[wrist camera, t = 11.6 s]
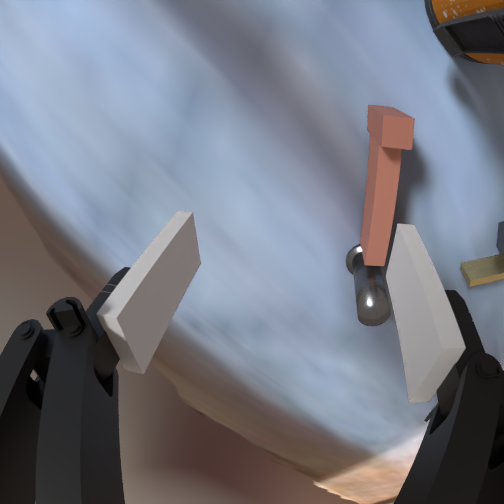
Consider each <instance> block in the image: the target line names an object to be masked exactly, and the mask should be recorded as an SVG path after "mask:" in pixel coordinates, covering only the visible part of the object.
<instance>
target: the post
mask: <svg viewBox="0 0 504 504" xmlns="http://www.w3.org/2000/svg"><path fill="white" fill-rule="evenodd" d="M346 265H347V268H348V270H349V272H350V273H351V274H353V275H354V284H355V293H356V302H357V313H358V319H359V321H360V322H361V323H362V324H364V325H366V326H377V325H380V324H382V323H384V322H385V321H386V320H387V319H388V318H389V316H390V308H389V303H388V298H387V294H386V289H385V285H384V280H383V276H382V272H381V269H382V267H383V266H371V265H365V264H364V259H363V254H362V248H361V244H359V245H357V246H355V247H353V248H352V249H351V250H350V251H349V253H348V254H347V257H346Z"/></svg>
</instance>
